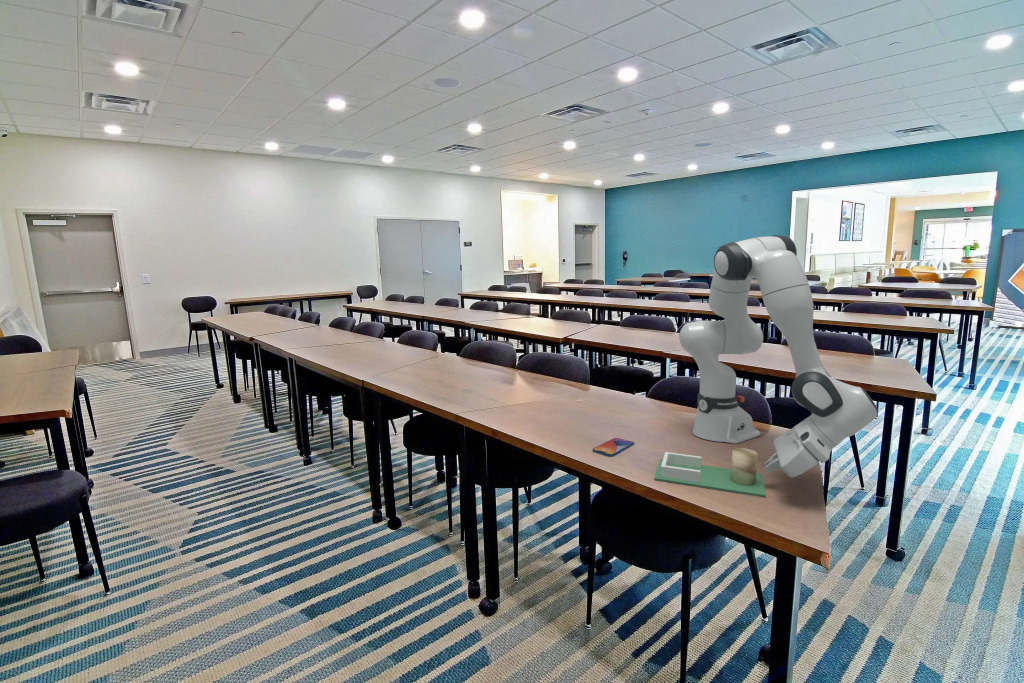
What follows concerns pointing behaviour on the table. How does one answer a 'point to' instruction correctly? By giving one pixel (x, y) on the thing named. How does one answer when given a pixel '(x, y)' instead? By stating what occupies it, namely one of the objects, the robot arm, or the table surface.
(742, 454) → the maple canister
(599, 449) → the smartphone
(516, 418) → the table surface
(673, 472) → the putting green
